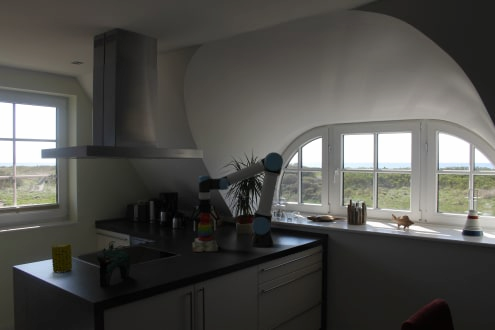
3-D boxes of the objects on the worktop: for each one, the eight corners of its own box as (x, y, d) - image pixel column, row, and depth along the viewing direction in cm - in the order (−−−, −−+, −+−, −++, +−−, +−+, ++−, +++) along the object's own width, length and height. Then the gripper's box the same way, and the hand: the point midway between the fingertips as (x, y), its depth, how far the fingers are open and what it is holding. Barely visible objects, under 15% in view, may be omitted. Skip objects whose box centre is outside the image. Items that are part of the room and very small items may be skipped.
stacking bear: (210, 241, 254) (210, 214, 254) (195, 241, 256) (195, 213, 256) (214, 238, 265) (214, 212, 265) (200, 237, 267) (200, 211, 267)
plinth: (215, 245, 270) (215, 237, 270) (217, 250, 254) (217, 241, 254) (192, 246, 267) (192, 237, 267) (192, 251, 252) (192, 242, 252)
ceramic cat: (105, 288, 180) (104, 244, 180) (94, 286, 182) (93, 243, 182) (132, 276, 198) (132, 236, 198) (122, 275, 201) (122, 236, 201)
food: (57, 277, 202) (51, 274, 210) (80, 267, 210) (73, 265, 218) (49, 249, 200) (43, 247, 208) (72, 241, 208) (66, 239, 216)
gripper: (222, 197, 266) (222, 228, 266) (185, 198, 262) (185, 230, 262) (223, 198, 259) (223, 230, 259) (185, 199, 255) (185, 232, 255)
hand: (204, 230), depth 261 cm, fingers open, 13 cm apart
